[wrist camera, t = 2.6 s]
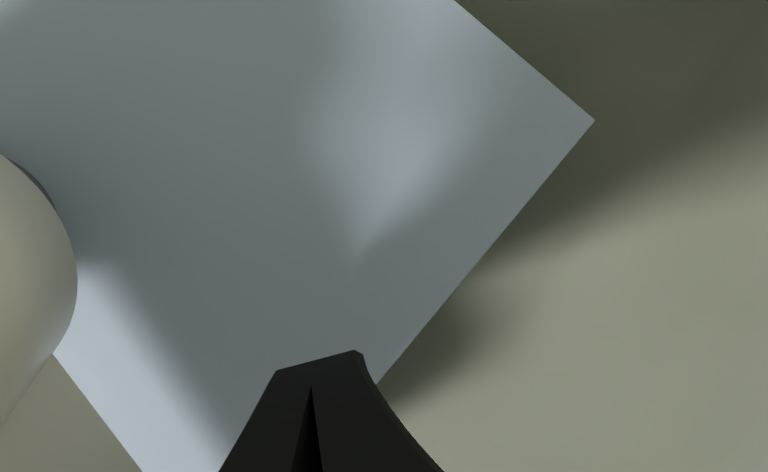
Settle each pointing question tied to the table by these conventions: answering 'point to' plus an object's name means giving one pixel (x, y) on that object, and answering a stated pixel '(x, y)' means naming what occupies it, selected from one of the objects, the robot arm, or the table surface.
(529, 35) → the table surface
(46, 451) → the cream knobbed bar
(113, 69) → the board
